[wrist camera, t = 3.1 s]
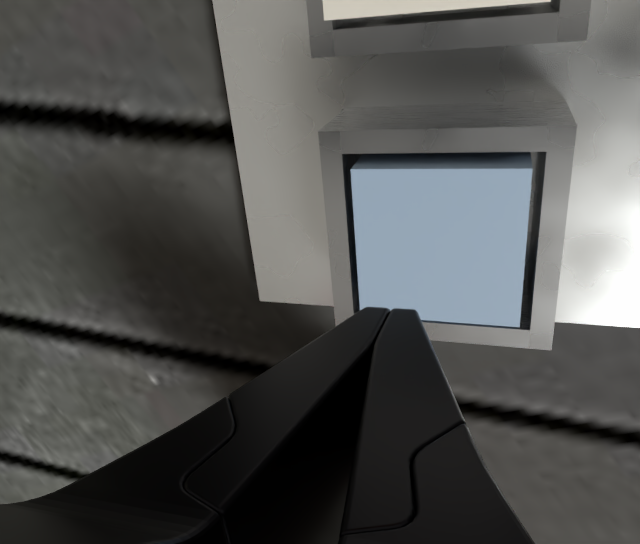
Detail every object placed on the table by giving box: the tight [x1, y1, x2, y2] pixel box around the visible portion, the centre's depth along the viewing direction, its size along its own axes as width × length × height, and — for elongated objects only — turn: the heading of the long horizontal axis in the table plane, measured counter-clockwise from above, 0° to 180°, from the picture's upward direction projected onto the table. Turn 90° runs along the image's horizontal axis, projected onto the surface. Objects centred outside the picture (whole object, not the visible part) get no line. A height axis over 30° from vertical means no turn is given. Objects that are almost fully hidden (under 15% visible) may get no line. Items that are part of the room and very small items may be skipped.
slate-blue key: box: [350, 152, 533, 327], centre depth 16 cm, size 4×4×3 cm
